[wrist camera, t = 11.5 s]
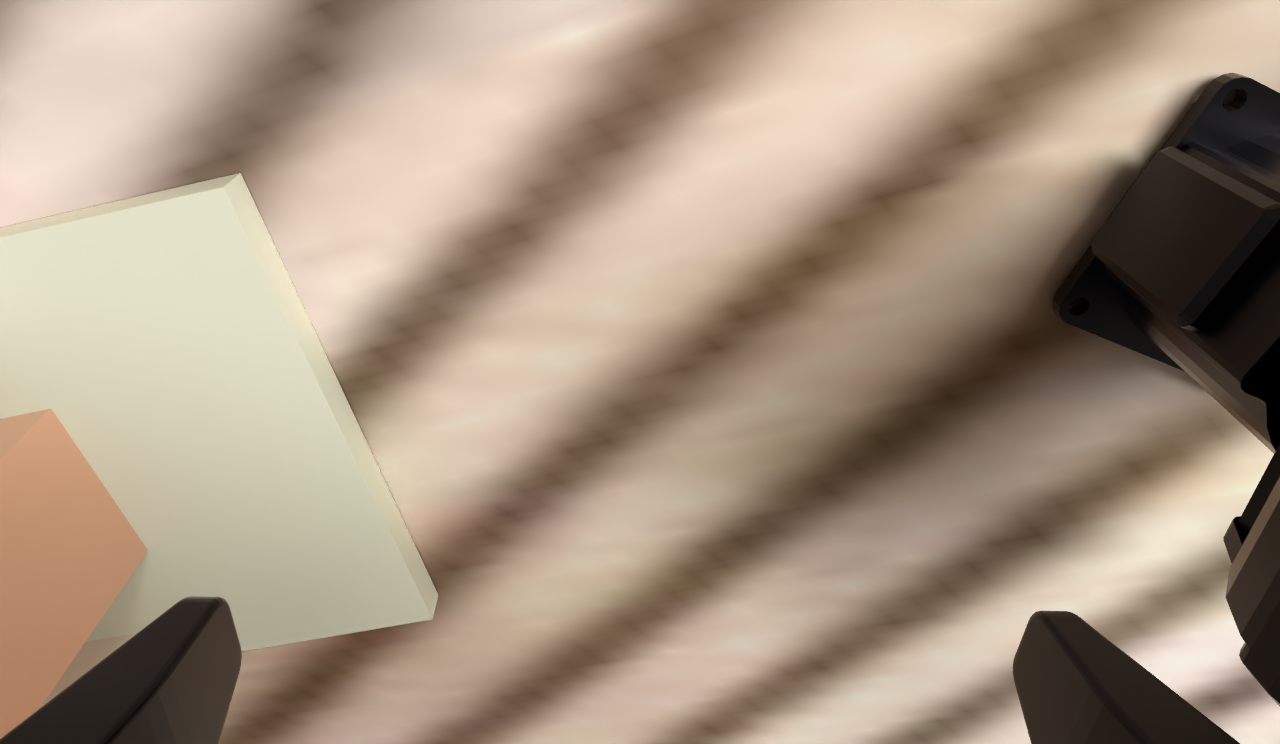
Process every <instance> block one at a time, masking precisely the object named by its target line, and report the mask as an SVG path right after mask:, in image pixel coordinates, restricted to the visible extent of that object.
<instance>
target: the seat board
mask: <svg viewBox="0 0 1280 744" xmlns="http://www.w3.org/2000/svg"><path fill="white" fill-rule="evenodd" d="M46 409H52V410H53V412H54V413H55V415H56V416H57V418H58V419H59V421H60V422H61V424H62V425H63V427H64V428H65V429H66V431H67V432H68V434H69V435H70V437H71V438H72V440H73V441H74V443H75V444H76V446H77V447H78V449H79V450H80V451H81V453H82V454H83V456H84V457H85V459H86V460H87V462H88V463H89V465H90V466H91V468H92V469H93V470H94V472H95V473H96V475H97V476H98V478H99V479H100V481H101V482H102V484H103V485H104V487H105V488H106V489H107V491H108V492H109V494H110V495H111V497H112V498H113V500H114V501H115V503H116V504H117V506H118V507H119V509H120V510H121V511H122V513H123V514H124V516H125V517H126V519H127V520H128V522H129V523H130V525H131V526H132V528H133V529H134V530H135V532H136V533H137V535H138V536H139V538H140V539H141V541H142V542H143V544H144V545H145V547H146V548H147V549H148V551H147V553H146V554H145V555H144V557H143V558H142V560H141V561H140V563H139V564H138V566H137V567H136V569H135V570H134V572H133V573H132V574H131V576H130V577H129V579H128V580H127V582H126V583H125V585H124V586H123V588H122V589H121V591H120V592H119V593H118V595H117V596H116V598H115V599H114V601H113V602H112V604H111V605H110V607H109V608H108V610H107V611H106V612H105V614H104V615H103V617H102V618H101V620H100V621H99V623H98V624H97V626H96V627H95V629H94V630H93V632H92V633H91V634H90V636H89V637H88V639H87V640H86V642H85V643H84V645H83V646H82V648H81V649H80V651H79V652H78V653H77V655H76V656H75V658H74V659H73V661H72V662H71V664H70V665H69V667H68V668H67V670H66V671H65V672H64V674H63V675H62V677H61V678H60V680H59V681H58V683H57V684H56V686H55V687H54V689H53V690H52V691H51V693H50V694H49V696H48V697H47V699H46V700H45V702H44V703H43V705H45V704H46V703H47V702H49V701H50V700H51V699H53V698H54V697H55V696H56V695H58V694H59V693H60V692H62V691H63V690H64V689H66V688H67V687H68V686H69V685H71V684H72V683H73V682H75V681H76V680H77V679H78V678H80V677H81V676H82V675H84V674H85V673H86V672H88V671H89V670H90V669H91V668H93V667H94V666H95V665H97V664H98V663H99V662H101V661H102V660H103V659H104V658H106V657H107V656H108V655H110V654H111V653H112V652H113V651H115V650H116V649H117V648H119V647H120V646H121V645H123V644H124V643H125V642H126V641H128V640H129V639H130V638H132V637H133V636H134V635H136V634H137V633H138V632H139V631H141V630H142V629H143V628H145V627H146V626H147V625H148V624H150V623H151V622H152V621H154V620H155V619H156V618H158V617H159V616H160V615H161V614H163V613H164V612H165V611H167V610H168V609H169V608H171V607H172V606H173V605H174V604H176V603H177V602H178V601H180V600H182V599H184V598H186V597H191V596H200V597H221V598H224V599H225V600H226V601H227V602H228V604H229V607H230V610H231V613H232V617H233V621H234V624H235V628H236V631H237V635H238V638H239V642H240V646H241V652H243V651H249V650H255V649H261V648H267V647H273V646H279V645H284V644H290V643H296V642H302V641H308V640H314V639H320V638H325V637H331V636H337V635H343V634H349V633H355V632H361V631H367V630H372V629H378V628H384V627H390V626H396V625H402V624H408V623H414V622H419V621H425V620H431V619H433V615H434V611H435V607H436V603H437V599H438V593H437V591H436V589H435V587H434V585H433V582H432V580H431V578H430V576H429V574H428V572H427V570H426V568H425V565H424V563H423V561H422V559H421V557H420V555H419V553H418V550H417V548H416V546H415V544H414V542H413V540H412V538H411V536H410V533H409V531H408V529H407V527H406V525H405V523H404V521H403V518H402V516H401V514H400V512H399V510H398V508H397V506H396V504H395V501H394V499H393V497H392V495H391V493H390V491H389V489H388V487H387V484H386V482H385V480H384V478H383V476H382V474H381V472H380V469H379V467H378V465H377V463H376V461H375V459H374V457H373V455H372V452H371V450H370V448H369V446H368V444H367V442H366V440H365V437H364V435H363V433H362V431H361V429H360V427H359V425H358V423H357V420H356V418H355V416H354V414H353V412H352V410H351V408H350V405H349V403H348V401H347V399H346V397H345V395H344V393H343V391H342V388H341V386H340V384H339V382H338V380H337V378H336V376H335V374H334V371H333V369H332V367H331V365H330V363H329V361H328V359H327V356H326V354H325V352H324V350H323V348H322V346H321V344H320V342H319V339H318V337H317V335H316V333H315V331H314V329H313V327H312V324H311V322H310V320H309V318H308V316H307V314H306V312H305V310H304V307H303V305H302V303H301V301H300V299H299V297H298V295H297V292H296V290H295V288H294V286H293V284H292V282H291V280H290V278H289V275H288V273H287V271H286V269H285V267H284V265H283V263H282V261H281V258H280V256H279V254H278V252H277V250H276V248H275V246H274V243H273V241H272V239H271V237H270V235H269V233H268V231H267V229H266V226H265V224H264V222H263V220H262V218H261V216H260V214H259V211H258V209H257V207H256V205H255V203H254V201H253V199H252V197H251V194H250V192H249V190H248V188H247V186H246V184H245V182H244V179H243V177H242V175H241V173H238V174H234V175H229V176H225V177H221V178H216V179H212V180H207V181H203V182H199V183H194V184H190V185H185V186H181V187H177V188H172V189H168V190H163V191H159V192H155V193H150V194H146V195H142V196H137V197H133V198H128V199H124V200H120V201H115V202H111V203H106V204H102V205H98V206H93V207H89V208H84V209H80V210H76V211H71V212H67V213H62V214H58V215H54V216H49V217H45V218H41V219H36V220H32V221H27V222H23V223H19V224H14V225H10V226H5V227H1V228H0V419H2V418H7V417H12V416H17V415H22V414H26V413H31V412H36V411H41V410H46ZM43 705H42V706H43ZM42 706H41V707H42Z"/></svg>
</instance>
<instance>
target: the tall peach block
mask: <svg viewBox="0 0 1280 744" xmlns="http://www.w3.org/2000/svg"><path fill="white" fill-rule="evenodd" d="M147 551H148V549H147V548H146V547H145V545H144V544H143V542H142V541H141V539H140V538H139V536H138V535H137V533H136V532H135V530H134V529H133V528H132V526H131V525H130V523H129V522H128V520H127V519H126V517H125V516H124V514H123V513H122V511H121V510H120V509H119V507H118V506H117V504H116V503H115V501H114V500H113V498H112V497H111V495H110V494H109V492H108V491H107V489H106V488H105V487H104V485H103V484H102V482H101V481H100V479H99V478H98V476H97V475H96V473H95V472H94V470H93V469H92V468H91V466H90V465H89V463H88V462H87V460H86V459H85V457H84V456H83V454H82V453H81V451H80V450H79V449H78V447H77V446H76V444H75V443H74V441H73V440H72V438H71V437H70V435H69V434H68V432H67V431H66V429H65V428H64V427H63V425H62V424H61V422H60V421H59V419H58V418H57V416H56V415H55V413H54V412H53V410H52V409H46V410H41V411H36V412H31V413H26V414H22V415H17V416H12V417H7V418H2V419H0V739H1V738H2V737H3V736H5V735H6V734H7V733H8V732H10V731H11V730H12V729H14V728H15V727H16V726H18V725H19V724H20V723H21V722H23V721H24V720H25V719H27V718H28V717H29V716H31V715H32V714H33V713H34V712H36V711H37V710H38V709H40V708H41V706H42V705H43V703H44V702H45V700H46V699H47V697H48V696H49V694H50V693H51V691H52V690H53V689H54V687H55V686H56V684H57V683H58V681H59V680H60V678H61V677H62V675H63V674H64V672H65V671H66V670H67V668H68V667H69V665H70V664H71V662H72V661H73V659H74V658H75V656H76V655H77V653H78V652H79V651H80V649H81V648H82V646H83V645H84V643H85V642H86V640H87V639H88V637H89V636H90V634H91V633H92V632H93V630H94V629H95V627H96V626H97V624H98V623H99V621H100V620H101V618H102V617H103V615H104V614H105V612H106V611H107V610H108V608H109V607H110V605H111V604H112V602H113V601H114V599H115V598H116V596H117V595H118V593H119V592H120V591H121V589H122V588H123V586H124V585H125V583H126V582H127V580H128V579H129V577H130V576H131V574H132V573H133V572H134V570H135V569H136V567H137V566H138V564H139V563H140V561H141V560H142V558H143V557H144V555H145V554H146V553H147Z"/></svg>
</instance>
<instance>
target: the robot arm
mask: <svg viewBox="0 0 1280 744" xmlns="http://www.w3.org/2000/svg"><path fill="white" fill-rule="evenodd" d="M1234 89H1236V96H1235V98H1234V100H1233V101H1232V102H1231V103H1230V104H1229V105H1227V106H1224V107H1223V101H1224V98H1225V96H1226V95H1227V94H1228V93H1229V92H1230V91H1232V90H1234ZM1080 297H1082V298H1083V299H1082V301H1081V303H1080V304H1079V305H1078V306H1077V307H1074V308H1071V309H1070V308H1069V306H1070V304H1071V303H1072V302H1073V301H1074V300H1075V299H1077V298H1080ZM1052 307H1053V309H1054V311H1055V313H1056V314H1057V315H1058V316H1059V317H1060V318H1061V319H1062V320H1064V321H1065V322H1066V323H1068V324H1071V325H1073V326H1076V327H1078V328H1080V329H1083V330H1085V331H1088V332H1090V333H1093V334H1095V335H1097V336H1100V337H1102V338H1105V339H1107V340H1110V341H1112V342H1115V343H1117V344H1119V345H1122V346H1124V347H1127V348H1129V349H1132V350H1134V351H1136V352H1139V353H1141V354H1144V355H1146V356H1149V357H1151V358H1153V359H1156V360H1158V361H1161V362H1163V363H1166V364H1168V365H1171V366H1173V367H1175V368H1178V369H1180V370H1183V371H1185V372H1186V373H1187V374H1188V375H1189V376H1191V377H1192V378H1193V379H1194V380H1195V381H1196V382H1197V383H1198V384H1199V385H1200V386H1201V387H1202V388H1204V389H1205V390H1206V391H1207V392H1208V393H1209V394H1210V395H1211V396H1212V397H1213V398H1214V399H1215V400H1217V401H1218V402H1219V403H1220V404H1221V405H1222V406H1223V407H1224V408H1225V409H1226V410H1227V411H1228V412H1230V413H1231V414H1232V415H1233V416H1234V417H1235V418H1236V419H1237V420H1238V421H1239V422H1240V423H1241V424H1243V425H1244V426H1245V427H1246V428H1247V429H1248V430H1249V431H1250V432H1251V433H1252V434H1253V435H1254V436H1256V437H1257V438H1258V439H1259V440H1260V441H1261V442H1262V443H1263V444H1264V445H1265V446H1266V447H1268V448H1269V449H1270V450H1271V451H1272V452H1273V453H1274V456H1273V457H1272V459H1271V461H1270V463H1269V465H1268V467H1267V469H1266V471H1265V473H1264V474H1263V476H1262V478H1261V480H1260V482H1259V484H1258V486H1257V488H1256V489H1255V491H1254V493H1253V495H1252V497H1251V499H1250V501H1249V503H1248V504H1247V506H1246V508H1245V510H1244V512H1243V514H1242V516H1240V517H1235V518H1234V519H1233V520H1232V522H1231V524H1230V526H1229V528H1228V530H1227V532H1226V534H1225V536H1224V543H1225V546H1226V548H1227V551H1228V554H1229V557H1230V560H1231V563H1232V565H1231V567H1230V570H1229V577H1228V584H1227V591H1226V599H1227V602H1228V604H1229V607H1230V610H1231V612H1232V615H1233V617H1234V620H1235V622H1236V625H1237V627H1238V630H1239V633H1240V635H1241V637H1242V638H1243V640H1244V641H1245V643H1244V645H1243V647H1242V648H1241V650H1240V654H1239V656H1240V658H1241V660H1242V662H1243V664H1244V665H1245V666H1246V667H1247V669H1248V670H1249V671H1250V672H1251V674H1252V675H1253V676H1254V677H1255V678H1256V680H1257V681H1258V682H1259V683H1260V684H1261V686H1262V687H1263V688H1264V689H1265V690H1266V691H1267V693H1268V694H1269V695H1270V696H1271V697H1272V699H1273V700H1274V701H1275V702H1276V703H1277V704H1278V705H1279V706H1280V93H1278V92H1276V91H1274V90H1272V89H1270V88H1268V87H1267V86H1265V85H1263V84H1261V83H1259V82H1257V81H1255V80H1253V79H1251V78H1248V77H1245V76H1242V75H1239V74H1235V73H1229V74H1224V75H1221V76H1220V77H1218V78H1216V79H1214V80H1213V81H1212V82H1211V83H1210V84H1209V85H1208V86H1207V88H1206V89H1205V90H1204V92H1203V93H1202V94H1201V96H1200V97H1199V98H1198V100H1197V101H1196V103H1195V104H1194V105H1193V107H1192V108H1191V109H1190V111H1189V112H1188V113H1187V115H1186V116H1185V118H1184V119H1183V120H1182V122H1181V123H1180V124H1179V126H1178V127H1177V129H1176V130H1175V131H1174V133H1173V134H1172V135H1171V137H1170V138H1169V139H1168V141H1167V142H1166V144H1165V145H1164V146H1163V148H1162V149H1161V150H1160V151H1159V152H1157V153H1156V154H1155V155H1154V157H1153V158H1152V159H1151V161H1150V162H1149V163H1148V165H1147V166H1146V167H1145V169H1144V170H1143V172H1142V173H1141V174H1140V176H1139V177H1138V178H1137V180H1136V181H1135V183H1134V184H1133V185H1132V187H1131V188H1130V189H1129V191H1128V192H1127V193H1126V195H1125V196H1124V198H1123V199H1122V200H1121V202H1120V203H1119V204H1118V206H1117V207H1116V209H1115V210H1114V211H1113V213H1112V214H1111V215H1110V217H1109V218H1108V219H1107V221H1106V222H1105V224H1104V225H1103V226H1102V228H1101V229H1100V230H1099V232H1098V233H1097V235H1096V236H1095V237H1094V239H1093V240H1092V245H1091V246H1090V247H1089V249H1088V250H1087V251H1086V253H1085V254H1084V256H1083V257H1082V258H1081V260H1080V261H1079V262H1078V264H1077V265H1076V266H1075V268H1074V269H1073V271H1072V272H1071V273H1070V275H1069V276H1068V277H1067V279H1066V280H1065V281H1064V283H1063V284H1062V286H1061V287H1060V288H1059V290H1058V291H1057V292H1056V294H1055V296H1054V298H1053V305H1052ZM241 657H242V654H241V646H240V642H239V638H238V635H237V631H236V628H235V624H234V621H233V617H232V613H231V610H230V607H229V604H228V602H227V601H226V600H225V599H224V598H221V597H200V596H191V597H186V598H184V599H182V600H180V601H178V602H177V603H176V604H174V605H173V606H172V607H171V608H169V609H168V610H167V611H165V612H164V613H163V614H161V615H160V616H159V617H158V618H156V619H155V620H154V621H152V622H151V623H150V624H148V625H147V626H146V627H145V628H143V629H142V630H141V631H139V632H138V633H137V634H136V635H134V636H133V637H132V638H130V639H129V640H128V641H126V642H125V643H124V644H123V645H121V646H120V647H119V648H117V649H116V650H115V651H113V652H112V653H111V654H110V655H108V656H107V657H106V658H104V659H103V660H102V661H101V662H99V663H98V664H97V665H95V666H94V667H93V668H91V669H90V670H89V671H88V672H86V673H85V674H84V675H82V676H81V677H80V678H78V679H77V680H76V681H75V682H73V683H72V684H71V685H69V686H68V687H67V688H66V689H64V690H63V691H62V692H60V693H59V694H58V695H56V696H55V697H54V698H53V699H51V700H50V701H49V702H47V703H46V704H45V705H43V706H42V707H41V708H40V709H38V710H37V711H36V712H34V713H33V714H32V715H31V716H29V717H28V718H27V719H25V720H24V721H23V722H21V723H20V724H19V725H18V726H16V727H15V728H14V729H12V730H11V731H10V732H8V733H7V734H6V735H5V736H3V737H2V738H1V739H0V744H218V743H219V740H220V736H221V733H222V729H223V726H224V722H225V719H226V716H227V712H228V709H229V705H230V702H231V698H232V695H233V691H234V688H235V685H236V681H237V678H238V674H239V671H240V666H241ZM1013 677H1014V682H1015V686H1016V690H1017V693H1018V697H1019V700H1020V704H1021V708H1022V711H1023V715H1024V719H1025V722H1026V726H1027V729H1028V733H1029V737H1030V740H1031V744H1240V743H1239V742H1237V741H1236V740H1235V739H1234V738H1232V737H1231V736H1230V735H1228V734H1227V733H1226V732H1225V731H1223V730H1222V729H1221V728H1220V727H1218V726H1217V725H1216V724H1214V723H1213V722H1212V721H1211V720H1209V719H1208V718H1207V717H1206V716H1204V715H1203V714H1202V713H1201V712H1199V711H1198V710H1197V709H1195V708H1194V707H1193V706H1192V705H1190V704H1189V703H1188V702H1187V701H1185V700H1184V699H1183V698H1181V697H1180V696H1179V695H1178V694H1176V693H1175V692H1174V691H1173V690H1171V689H1170V688H1169V687H1168V686H1166V685H1165V684H1164V683H1162V682H1161V681H1160V680H1159V679H1157V678H1156V677H1155V676H1154V675H1152V674H1151V673H1150V672H1148V671H1147V670H1146V669H1145V668H1143V667H1142V666H1141V665H1140V664H1138V663H1137V662H1136V661H1135V660H1133V659H1132V658H1131V657H1129V656H1128V655H1127V654H1126V653H1124V652H1123V651H1122V650H1121V649H1119V648H1118V647H1117V646H1115V645H1114V644H1113V643H1112V642H1110V641H1109V640H1108V639H1107V638H1105V637H1104V636H1103V635H1102V634H1100V633H1099V632H1098V631H1096V630H1095V629H1094V628H1093V627H1091V626H1090V625H1089V624H1088V623H1086V622H1085V621H1084V620H1082V619H1081V618H1080V617H1078V616H1077V615H1075V614H1073V613H1071V612H1067V611H1038V612H1035V613H1034V614H1033V615H1032V616H1031V617H1030V619H1029V622H1028V624H1027V627H1026V629H1025V632H1024V634H1023V637H1022V639H1021V642H1020V645H1019V647H1018V650H1017V652H1016V655H1015V658H1014V662H1013Z"/></svg>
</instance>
